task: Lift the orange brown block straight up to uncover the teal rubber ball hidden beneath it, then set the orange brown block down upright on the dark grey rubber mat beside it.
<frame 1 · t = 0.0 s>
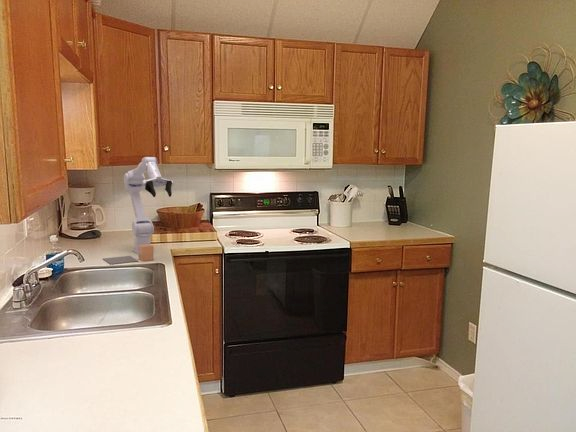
hand: (162, 195, 213), 32 cm above the countertop, tool tilted 50°, fingers open, 7 cm apart
ball: (145, 256, 222), point 2 cm above the countertop
mat: (120, 260, 219), on the countertop
orange brown block: (145, 259, 222), on the countertop
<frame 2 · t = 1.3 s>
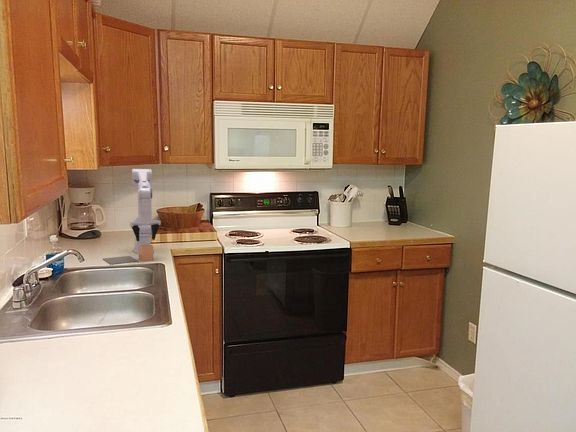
hand: (145, 240, 221), 10 cm above the countertop, tool pointing down, fingers open, 7 cm apart
nothing on the countertop moved.
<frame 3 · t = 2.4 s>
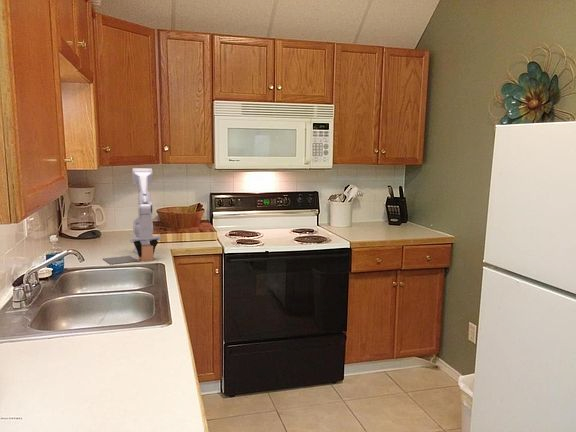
hand: (145, 255, 222), 2 cm above the countertop, tool pointing down, fingers closed on orange brown block, 5 cm apart
orange brown block: (145, 259, 222), on the countertop, touching gripper
everything else where it was.
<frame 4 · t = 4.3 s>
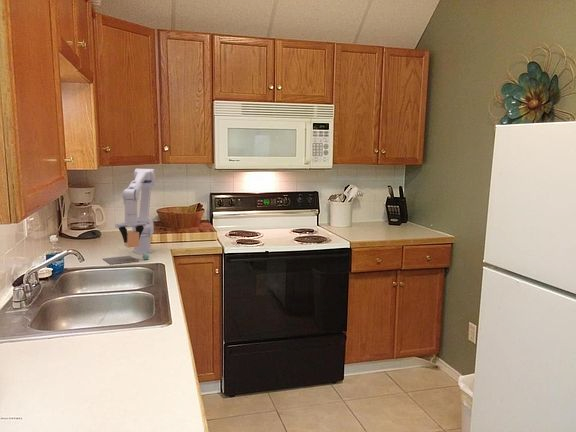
hand: (131, 241, 219), 9 cm above the countertop, tool pointing down, fingers closed on orange brown block, 5 cm apart
orange brown block: (131, 246, 219), point 7 cm above the countertop, touching gripper
everything else where it was.
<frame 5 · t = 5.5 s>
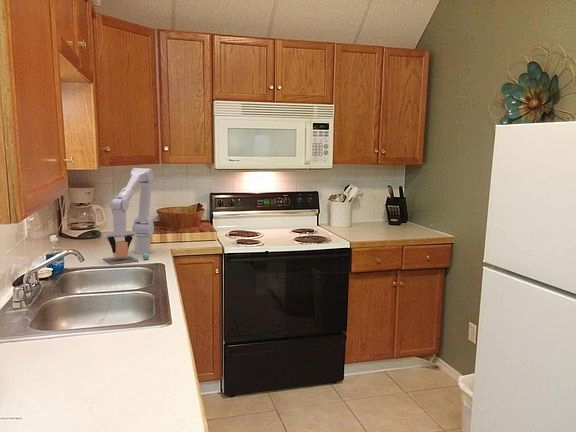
hand: (120, 251, 218), 4 cm above the countertop, tool pointing down, fingers closed on orange brown block, 5 cm apart
orange brown block: (120, 256, 218), point 2 cm above the countertop, touching gripper
everything else where it was.
when the fingers open (3 cm above the countertop, at t = 6.2 s): orange brown block stays where it is, resting on mat.
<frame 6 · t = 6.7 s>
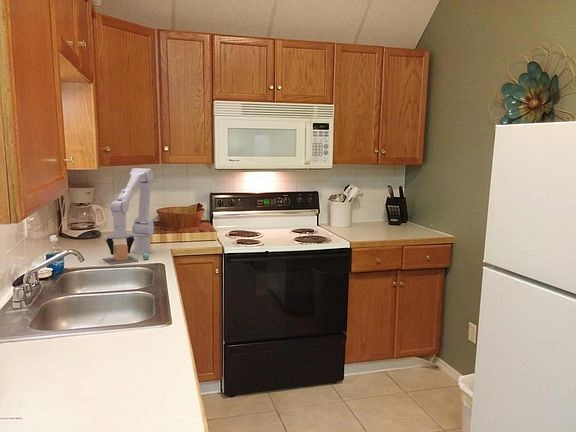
hand: (120, 253, 218), 3 cm above the countertop, tool pointing down, fingers open, 7 cm apart
orange brown block: (120, 259, 218), resting on mat
everything else where it was.
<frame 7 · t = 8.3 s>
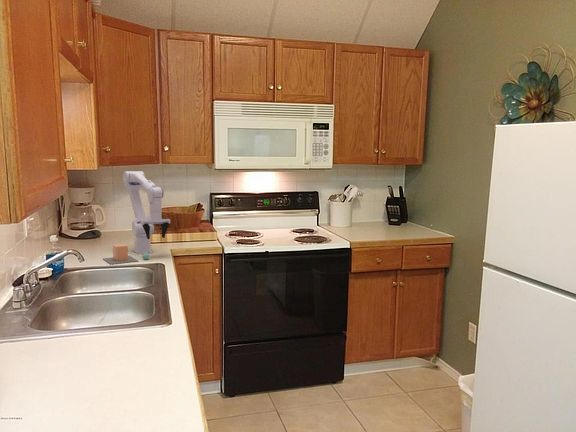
hand: (155, 238, 228), 9 cm above the countertop, tool pointing down, fingers open, 7 cm apart
nothing on the countertop moved.
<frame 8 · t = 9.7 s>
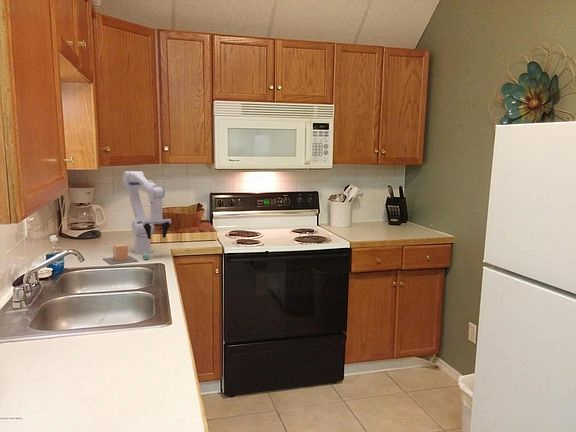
hand: (156, 238, 228), 9 cm above the countertop, tool pointing down, fingers open, 7 cm apart
nothing on the countertop moved.
at the end: orange brown block inside the target area on the mat (0.1 cm from its centre), point 0.4 cm above the mat's base; orange brown block tilted 0°; the gripper is holding nothing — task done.
